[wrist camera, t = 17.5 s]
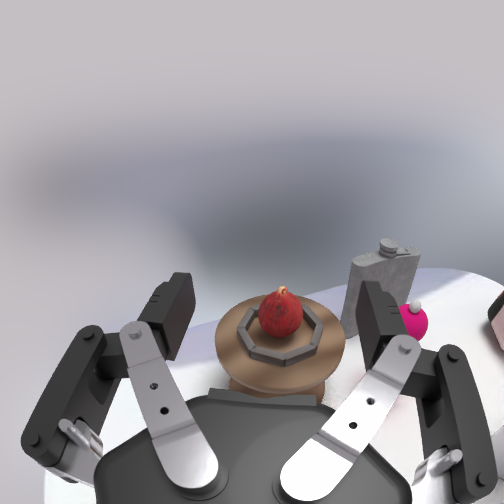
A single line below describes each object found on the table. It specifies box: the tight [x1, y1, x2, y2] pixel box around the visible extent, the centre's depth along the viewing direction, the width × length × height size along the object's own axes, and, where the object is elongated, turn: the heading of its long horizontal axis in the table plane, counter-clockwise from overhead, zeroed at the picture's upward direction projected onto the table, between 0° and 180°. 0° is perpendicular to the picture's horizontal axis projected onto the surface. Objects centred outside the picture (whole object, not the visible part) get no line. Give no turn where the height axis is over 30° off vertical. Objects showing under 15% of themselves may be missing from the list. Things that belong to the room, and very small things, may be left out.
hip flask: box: [340, 239, 421, 339], centre depth 54 cm, size 16×4×20 cm, turn 103°
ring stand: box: [215, 295, 345, 403], centre depth 42 cm, size 18×18×16 cm
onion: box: [258, 286, 303, 338], centre depth 37 cm, size 6×6×8 cm
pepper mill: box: [398, 300, 428, 341], centre depth 39 cm, size 7×7×20 cm
